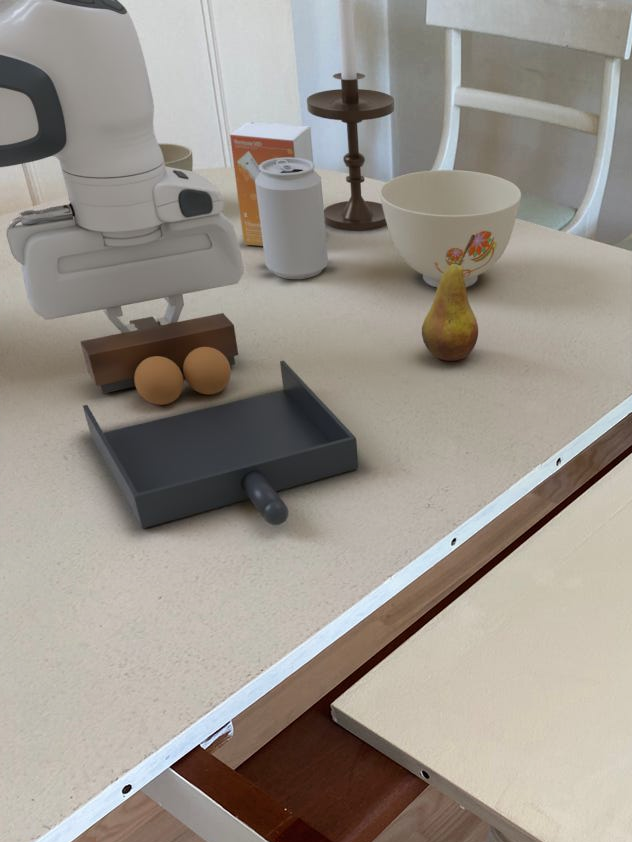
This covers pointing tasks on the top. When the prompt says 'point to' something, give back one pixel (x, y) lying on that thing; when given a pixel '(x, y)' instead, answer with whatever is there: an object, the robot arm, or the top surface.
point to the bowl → (450, 220)
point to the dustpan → (227, 454)
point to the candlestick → (351, 127)
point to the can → (292, 217)
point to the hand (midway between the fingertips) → (151, 341)
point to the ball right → (207, 370)
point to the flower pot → (177, 156)
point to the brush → (154, 347)
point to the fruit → (451, 317)
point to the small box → (253, 149)
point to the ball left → (158, 380)
